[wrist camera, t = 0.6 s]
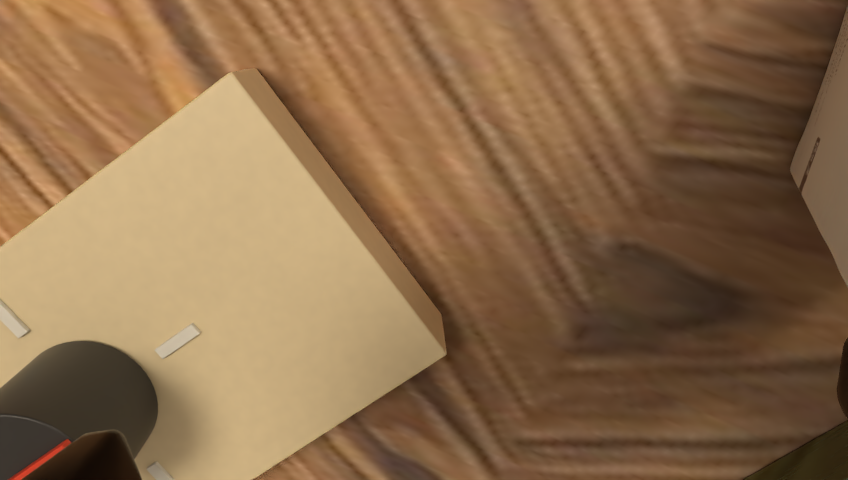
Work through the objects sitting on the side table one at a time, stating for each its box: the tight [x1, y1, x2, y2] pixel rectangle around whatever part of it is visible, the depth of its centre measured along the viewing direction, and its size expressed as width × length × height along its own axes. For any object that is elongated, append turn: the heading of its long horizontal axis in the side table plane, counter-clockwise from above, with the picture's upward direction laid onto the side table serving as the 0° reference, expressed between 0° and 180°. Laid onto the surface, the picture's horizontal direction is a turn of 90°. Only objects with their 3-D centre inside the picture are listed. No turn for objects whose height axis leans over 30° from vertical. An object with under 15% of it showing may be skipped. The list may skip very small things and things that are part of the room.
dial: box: [0, 341, 158, 480], centre depth 18 cm, size 4×4×4 cm
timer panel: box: [0, 68, 447, 480], centre depth 21 cm, size 14×10×3 cm
